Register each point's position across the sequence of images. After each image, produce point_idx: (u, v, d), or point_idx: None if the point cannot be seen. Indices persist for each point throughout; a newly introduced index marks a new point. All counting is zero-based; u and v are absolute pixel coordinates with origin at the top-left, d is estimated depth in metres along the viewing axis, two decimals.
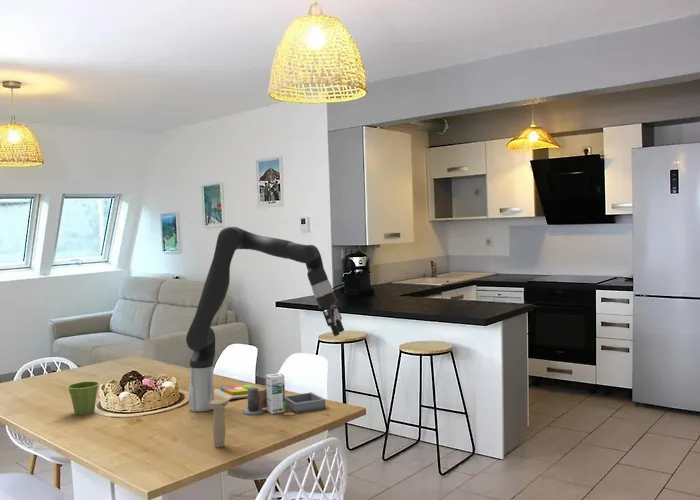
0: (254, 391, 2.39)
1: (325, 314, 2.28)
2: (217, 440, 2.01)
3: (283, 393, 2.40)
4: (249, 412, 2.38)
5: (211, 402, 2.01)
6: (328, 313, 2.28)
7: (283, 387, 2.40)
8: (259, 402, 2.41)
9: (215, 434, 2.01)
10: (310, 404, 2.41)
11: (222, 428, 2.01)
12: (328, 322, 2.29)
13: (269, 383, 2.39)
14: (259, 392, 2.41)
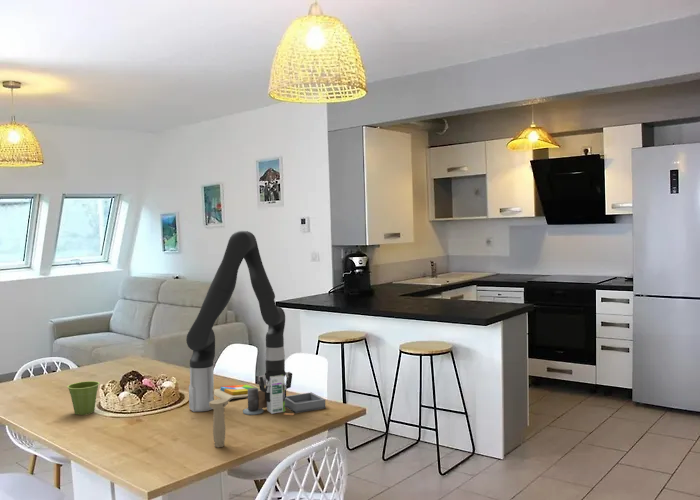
0: (254, 391, 2.39)
1: (258, 380, 2.38)
2: (217, 440, 2.01)
3: (283, 393, 2.40)
4: (249, 412, 2.38)
5: (211, 402, 2.01)
6: (260, 380, 2.37)
7: (283, 387, 2.40)
8: (259, 402, 2.41)
9: (215, 434, 2.01)
10: (310, 404, 2.41)
11: (222, 428, 2.01)
12: None
13: None
14: (259, 392, 2.41)
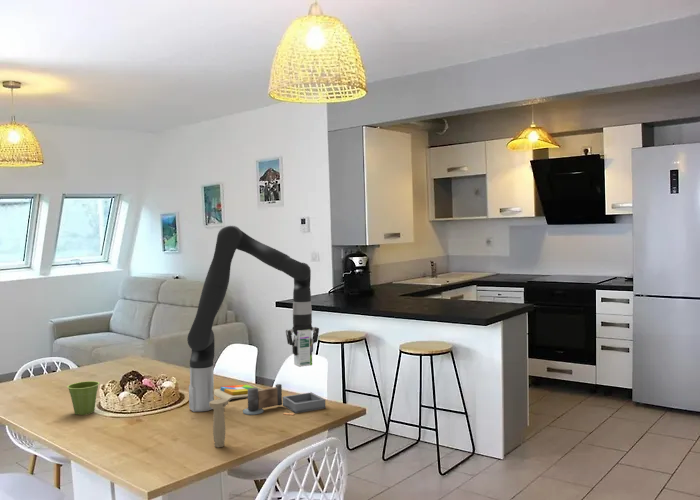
0: (254, 391, 2.39)
1: (286, 333, 2.43)
2: (217, 440, 2.01)
3: (310, 347, 2.45)
4: (249, 412, 2.38)
5: (211, 402, 2.01)
6: (287, 334, 2.42)
7: (310, 341, 2.45)
8: (259, 402, 2.41)
9: (215, 434, 2.01)
10: (310, 404, 2.41)
11: (222, 428, 2.01)
12: None
13: None
14: (259, 392, 2.41)
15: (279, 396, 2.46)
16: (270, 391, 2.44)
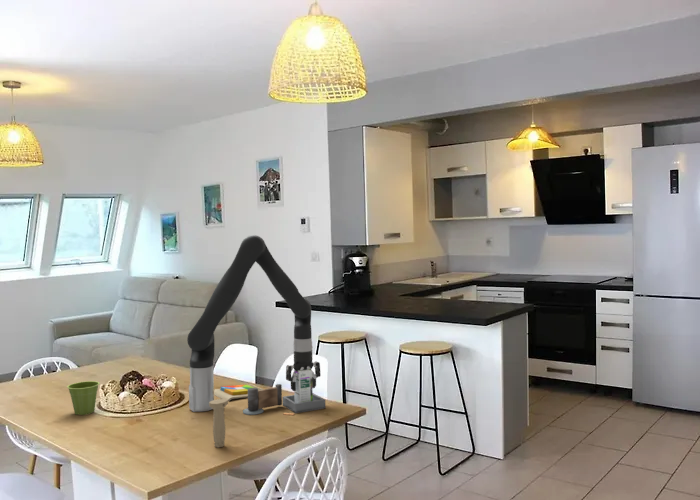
0: (254, 391, 2.39)
1: (286, 368, 2.44)
2: (217, 440, 2.01)
3: (311, 387, 2.45)
4: (249, 412, 2.38)
5: (211, 402, 2.01)
6: (288, 369, 2.43)
7: (310, 381, 2.45)
8: (259, 402, 2.41)
9: (215, 434, 2.01)
10: (310, 404, 2.41)
11: (221, 428, 2.01)
12: None
13: None
14: (259, 392, 2.41)
15: (279, 396, 2.46)
16: (270, 391, 2.44)
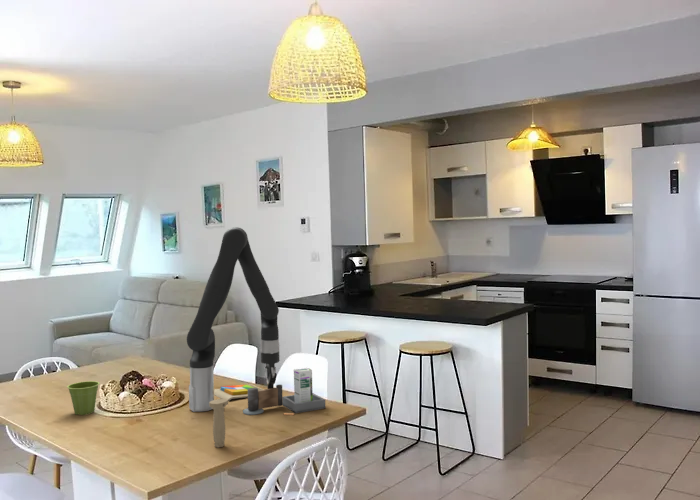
0: (254, 391, 2.39)
1: (271, 377, 2.42)
2: (217, 440, 2.01)
3: (311, 387, 2.45)
4: (249, 412, 2.38)
5: (211, 402, 2.01)
6: (274, 377, 2.42)
7: (310, 381, 2.45)
8: (259, 402, 2.41)
9: (215, 434, 2.01)
10: (310, 404, 2.41)
11: (222, 428, 2.01)
12: None
13: (297, 377, 2.44)
14: (259, 392, 2.41)
15: (280, 396, 2.45)
16: (270, 391, 2.44)
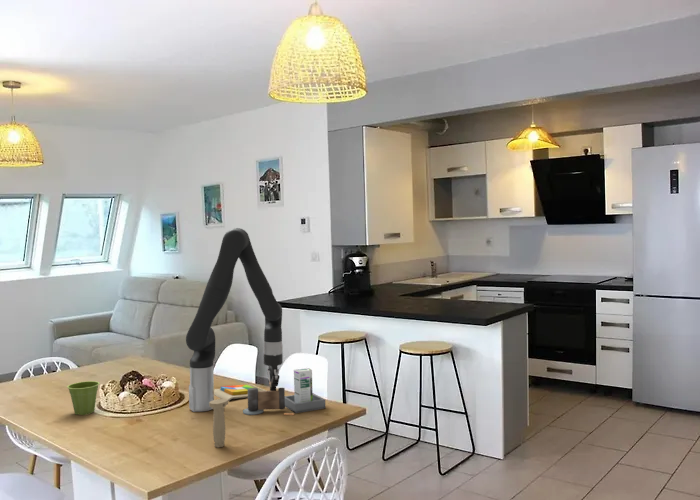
0: (251, 391, 2.39)
1: (274, 379, 2.38)
2: (217, 440, 2.01)
3: (311, 387, 2.45)
4: (249, 412, 2.38)
5: (211, 402, 2.01)
6: (277, 379, 2.39)
7: (310, 381, 2.45)
8: (259, 403, 2.40)
9: (215, 434, 2.01)
10: (310, 404, 2.41)
11: (222, 428, 2.01)
12: None
13: (297, 377, 2.44)
14: (259, 393, 2.40)
15: (280, 400, 2.40)
16: (271, 393, 2.40)
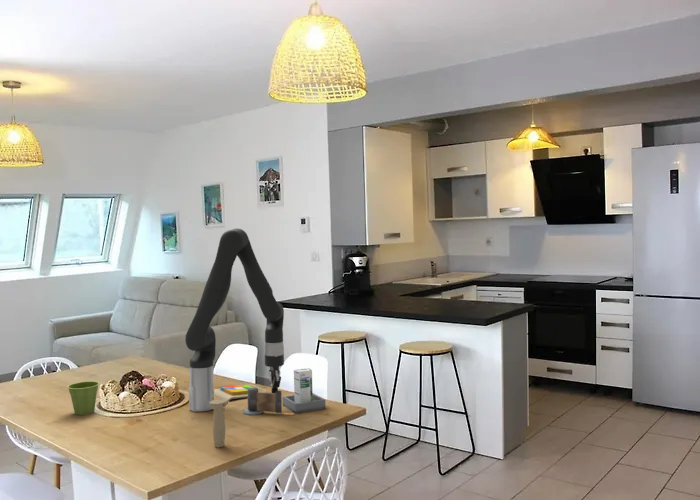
0: (249, 391, 2.39)
1: (276, 380, 2.35)
2: (217, 440, 2.01)
3: (311, 387, 2.45)
4: (249, 412, 2.38)
5: (211, 402, 2.01)
6: (279, 380, 2.35)
7: (310, 381, 2.45)
8: (257, 404, 2.39)
9: (215, 434, 2.01)
10: (310, 404, 2.41)
11: (222, 428, 2.01)
12: None
13: (297, 377, 2.44)
14: (257, 394, 2.39)
15: (276, 403, 2.36)
16: (268, 395, 2.37)
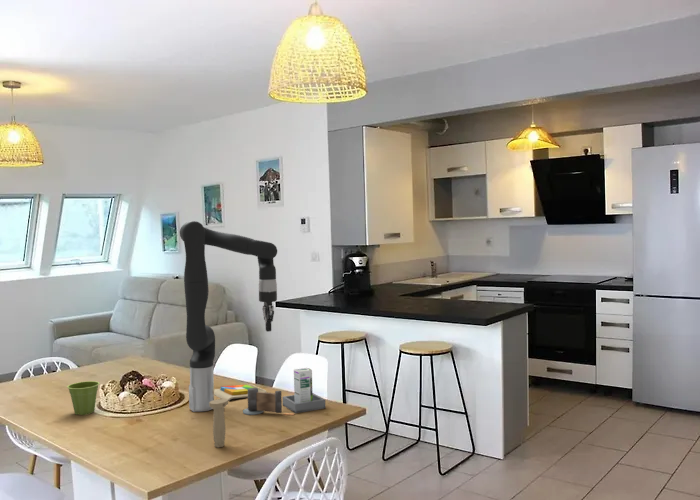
0: (249, 391, 2.39)
1: (269, 314, 2.52)
2: (217, 440, 2.01)
3: (311, 387, 2.45)
4: (249, 412, 2.38)
5: (211, 402, 2.01)
6: (272, 314, 2.52)
7: (310, 381, 2.45)
8: (257, 404, 2.39)
9: (215, 434, 2.01)
10: (310, 404, 2.41)
11: (222, 428, 2.01)
12: (267, 318, 2.54)
13: (297, 377, 2.44)
14: (257, 394, 2.39)
15: (276, 403, 2.36)
16: (268, 395, 2.37)
